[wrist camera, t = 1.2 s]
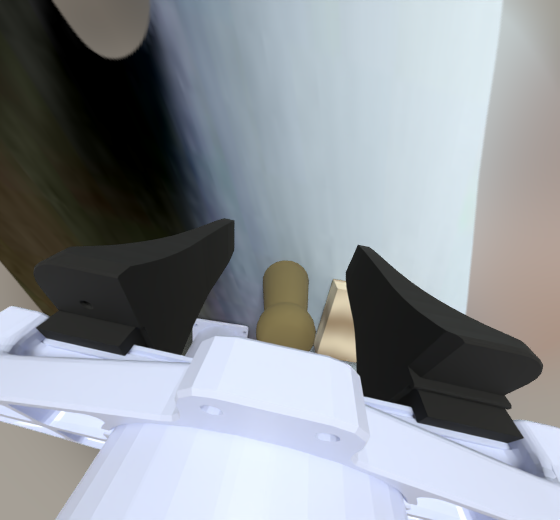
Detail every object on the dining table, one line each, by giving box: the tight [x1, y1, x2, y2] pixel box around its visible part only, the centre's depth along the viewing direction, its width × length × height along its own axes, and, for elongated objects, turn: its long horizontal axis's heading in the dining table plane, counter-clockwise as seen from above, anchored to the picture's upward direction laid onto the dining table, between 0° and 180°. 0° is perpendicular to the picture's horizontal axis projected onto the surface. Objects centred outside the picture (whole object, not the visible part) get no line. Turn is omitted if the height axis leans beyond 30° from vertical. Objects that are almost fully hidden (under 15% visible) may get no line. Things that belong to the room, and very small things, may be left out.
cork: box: [256, 261, 316, 352], centre depth 21 cm, size 6×6×11 cm
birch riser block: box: [314, 279, 356, 362], centre depth 27 cm, size 11×11×2 cm
